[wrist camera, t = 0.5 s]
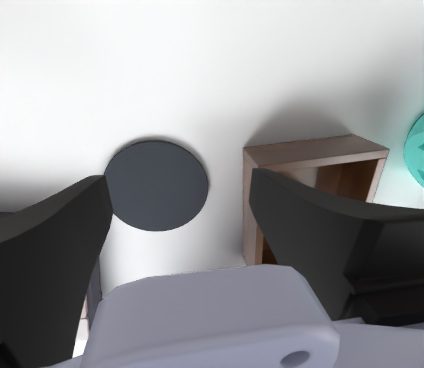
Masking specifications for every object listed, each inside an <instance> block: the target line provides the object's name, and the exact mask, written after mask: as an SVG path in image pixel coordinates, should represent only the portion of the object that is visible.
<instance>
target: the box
mask: <svg viewBox="0 0 424 368" xmlns="http://www.w3.org/2000/svg"><path fill="white" fill-rule="evenodd" d="M389 150H390V149H389V148H386V147H384V146H381V145H379V144H376V143H374V142H371V141H369V140H366V139H364V138H361V137H359V136H356V135H345V136H337V137H328V138H320V139H312V140H303V141H295V142H287V143H278V144H270V145H262V146H253V147H245V148H243V258H244V260H245V263H246V266H252V265H261V264H269V265H278V263H277V261H276V258H275V256H274V254H273V252H272V250H271V248H270V246H269V244H268V242H267V240H266V239H265V237H264V235H263V233H262V231H261V230H260V228H259V226H258V224H257V222H256V220H255V218H254V216H253V213H252V211H251V208H250V205H249V193H250V184H251V176H252V168H267V169H270V170H272V171H275V172H277V173H279V174H282V175H284V176H286V177H288V178H290V179H293V180H295V181H297V182H300V183H302V184H305V185H307V186H310V187H312V188H315V189H318V190H321V191H324V192H328V193H331V194H334V195H338V196H342V197H346V198H350V199H354V200H359V201H364V202H369V203H372V201H373V198H374V195H375V192H376V189H377V186H378V183H379V180H380V177H381V174H382V171H383V168H384V165H385V162H386V159H387V158H386V157H387V156H388V153H389Z"/></svg>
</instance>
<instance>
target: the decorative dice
mask: <svg viewBox="0 0 424 368" xmlns="http://www.w3.org/2000/svg"><path fill="white" fill-rule="evenodd" d="M404 158H405V162H406V165H407V167H408V169H409V171H410V173H411V174H412V175H413V177H414V178H415V179H416V180H417V182H418V183H419V184H420V185H422V186H423V187H424V115H423V116H422V117H421V118H420V119H419V120H418V121H417V122H416V123H415V125H414V126H413V128H412V129H411V131H410V133H409V135H408V137H407V139H406V142H405V147H404Z"/></svg>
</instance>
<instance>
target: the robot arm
mask: <svg viewBox="0 0 424 368" xmlns="http://www.w3.org/2000/svg"><path fill="white" fill-rule="evenodd" d="M249 205H250V208H251V211H252V213H253V216H254V218H255V220H256V222H257V224H258V226H259V228H260V230H261V231H262V233H263V235H264V237H265V239H266V240H267V242H268V244H269V246H270V248H271V250H272V252H273V254H274V256H275V258H276V261H277V263H278V265H269V264H261V265H252V266H243V267H234V268H225V269H216V270H207V271H198V272H189V273H180V274H171V275H162V276H153V277H146V278H143V279H139V280H136V281H133V282H129V283H126V284H123V285H120V286H117V287H116V288H115V289H114V290H113V291H111V292H110V293H109V294H108V295H107V296H106V297H105V298H104V299H103V300H102V301H100V302H99V303H98V307H97V310H96V313H95V317H94V320H93V323H92V327H91V330H90V333H89V337H88V340H87V343H86V347H85V350H84V353H83V355H80V356H77V357H75V358H72V356H73V350H74V346H75V341H76V336H77V332H78V327H79V322H80V318H81V314H82V310H83V305H84V301H85V297H86V294H87V290H88V286H89V282H90V279H91V275H92V272H93V270H94V267H95V264H96V262H97V259H98V257H99V254H100V252H101V249H102V247H103V244H104V242H105V239H106V236H107V234H108V231H109V229H110V225H111V220H112V215H113V207H112V203H111V198H110V194H109V189H108V185H107V180H106V176H105V175H93V176H89V177H87V178H84V179H82V180H81V181H79V182H77V183H75V184H73V185H71V186H69V187H68V188H66V189H64V190H62V191H60V192H58V193H57V194H55V195H53V196H51V197H49V198H47V199H45V200H43V201H41V202H39V203H37V204H35V205H32V206H30V207H28V208H26V209H23V210H21V211H18V212H16V213H14V214H11V215H9V216H6V217H3V218H0V368H424V209H416V208H406V207H396V206H388V205H382V204H375V203H369V202H364V201H359V200H354V199H350V198H346V197H342V196H338V195H334V194H331V193H328V192H324V191H321V190H318V189H315V188H312V187H310V186H307V185H305V184H302V183H300V182H297V181H295V180H293V179H290V178H288V177H286V176H284V175H282V174H279V173H277V172H275V171H272V170H270V169H267V168H252V176H251V184H250V193H249Z"/></svg>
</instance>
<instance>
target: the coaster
mask: <svg viewBox="0 0 424 368" xmlns="http://www.w3.org/2000/svg"><path fill="white" fill-rule="evenodd" d="M104 175H105V176H106V180H107V185H108V189H109V194H110V198H111V203H112V207H113V213H114V214H115V215H116V216H117V217H118V218H119V219H120V220H122V221H123V222H125V223H126V224H128V225H130V226H132V227H135V228H138V229H141V230H146V231H167V230H172V229H175V228H178V227H180V226H183V225H184V224H186V223H188V222H189V221H191V220H192V219H193V218H194V217H195V216H196V215H197V214H198V213H199V212H200V211H201V209H202V207H203V206H204V204H205V201H206V198H207V194H208V182H207V177H206V174H205V171H204V169H203V167H202V165H201V164H200V162H199V161H198V160H197V159H196V158H195V156H194V155H192V154H191V153H190V152H189V151H187V150H186V149H184V148H182V147H180V146H178V145H176V144H173V143H170V142H165V141H144V142H139V143H136V144H133V145H130V146H128V147H126V148H125V149H123V150H121V151H120V152H119V153H118V154H117V155H115V156H114V158H113V159H112V160H111V161H110V163H109V165H108V166H107V168H106V170H105V173H104Z"/></svg>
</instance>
